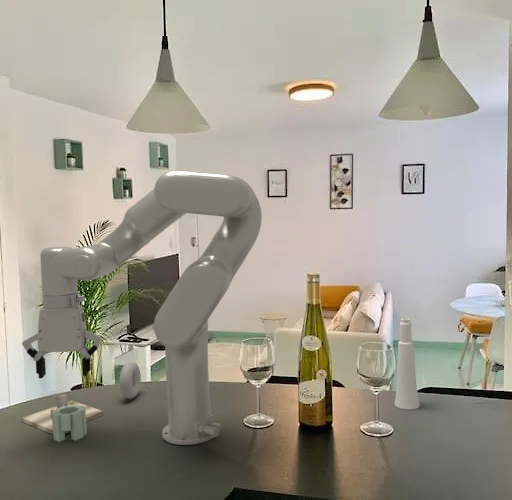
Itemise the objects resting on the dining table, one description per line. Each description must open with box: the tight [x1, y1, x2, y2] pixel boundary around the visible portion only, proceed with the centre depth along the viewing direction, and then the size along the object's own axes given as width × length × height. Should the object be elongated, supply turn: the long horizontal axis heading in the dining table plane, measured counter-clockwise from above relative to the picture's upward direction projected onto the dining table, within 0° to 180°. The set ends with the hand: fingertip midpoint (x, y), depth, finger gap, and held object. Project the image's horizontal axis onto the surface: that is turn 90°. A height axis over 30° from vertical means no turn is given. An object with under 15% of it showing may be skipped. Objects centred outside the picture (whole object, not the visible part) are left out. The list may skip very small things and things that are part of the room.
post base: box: [21, 392, 104, 435], centre depth 134 cm, size 14×14×6 cm
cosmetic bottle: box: [394, 317, 420, 411], centre depth 132 cm, size 6×6×22 cm
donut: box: [119, 361, 142, 400], centre depth 146 cm, size 10×4×10 cm, turn 172°
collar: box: [52, 405, 88, 443], centre depth 123 cm, size 7×7×6 cm
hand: (64, 375), depth 122 cm, fingers open, 9 cm apart
